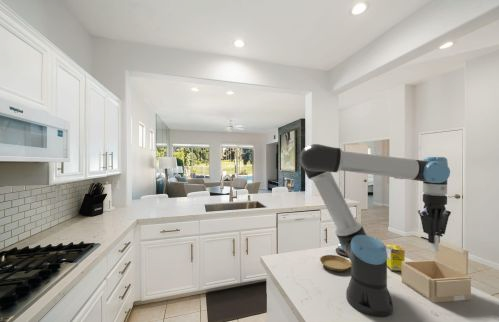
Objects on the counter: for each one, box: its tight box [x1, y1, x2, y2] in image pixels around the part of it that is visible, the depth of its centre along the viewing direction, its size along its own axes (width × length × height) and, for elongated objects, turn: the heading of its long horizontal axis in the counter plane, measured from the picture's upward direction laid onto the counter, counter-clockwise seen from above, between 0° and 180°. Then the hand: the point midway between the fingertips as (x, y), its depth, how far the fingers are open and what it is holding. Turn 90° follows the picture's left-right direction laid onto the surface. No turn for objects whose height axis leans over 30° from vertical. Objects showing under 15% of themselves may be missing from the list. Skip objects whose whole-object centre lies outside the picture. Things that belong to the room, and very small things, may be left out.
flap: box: [434, 240, 469, 275], centre depth 85 cm, size 9×12×1 cm
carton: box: [401, 259, 472, 304], centre depth 84 cm, size 16×16×9 cm
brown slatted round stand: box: [335, 243, 348, 257], centre depth 121 cm, size 12×12×8 cm
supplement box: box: [385, 244, 405, 273], centre depth 101 cm, size 6×6×11 cm
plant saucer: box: [319, 254, 351, 273], centre depth 105 cm, size 15×15×3 cm
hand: (433, 250), depth 84 cm, fingers closed
